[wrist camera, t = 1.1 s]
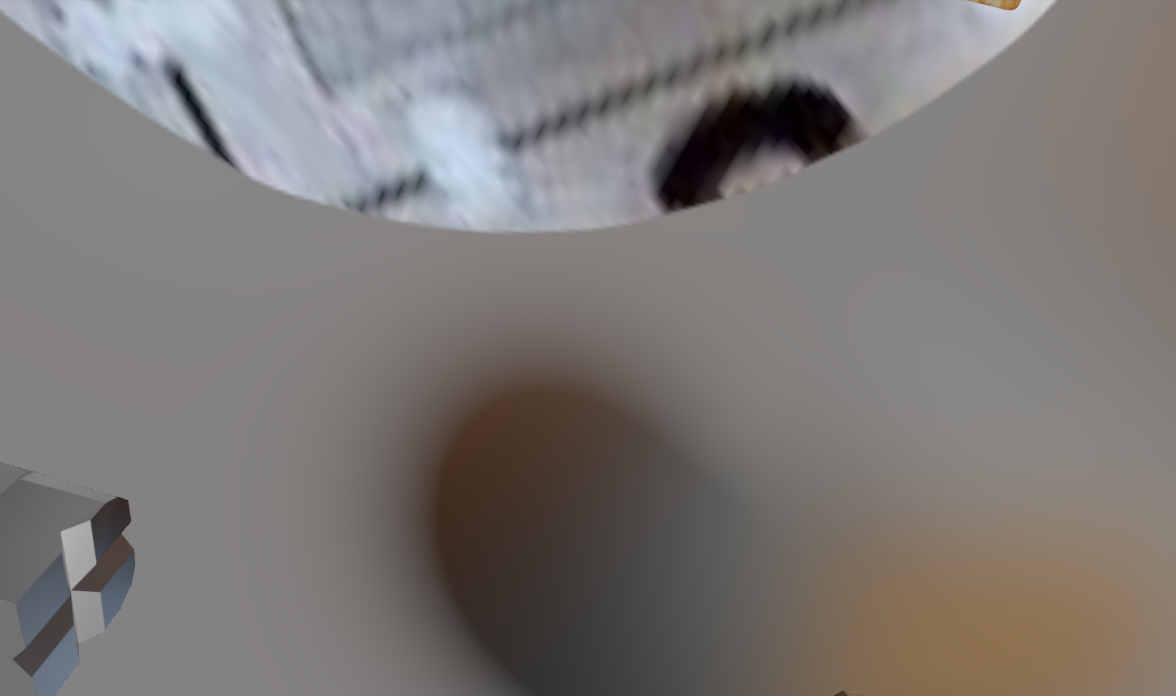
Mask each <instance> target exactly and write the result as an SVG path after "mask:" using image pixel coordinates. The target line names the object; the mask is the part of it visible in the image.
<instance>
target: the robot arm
mask: <svg viewBox="0 0 1176 696" xmlns="http://www.w3.org/2000/svg"><path fill="white" fill-rule="evenodd" d="M130 523H131V515H130V509H129V502H128V500H126V499H124V498H121V497H118V496H115V495H112V494H108V493H105V492H102V491H98V490H95V489H92V488H88V487H85V486H81V485H78V484H75V483H71V482H68V481H64V480H61V479H58V478H55V477H51V476H48V475H45V474H41V473H38V472H34V471H30V470H27V469H23V468H20V467H16V466H12V465H9V464H5V463H1V462H0V696H55V695H56V694H57V692H58V691H59V690H60V689H61V687H62V686H63V685H64V683H65V682H66V681H67V680H68V678H69V677H70V675H71V674H72V673H73V672H74V670H75V669H76V668H77V666H78V665H79V643H80V642H82V641H84V640H86V639H88V638H90V637H92V636H94V635H97V634H99V633H101V632H103V631H105V630H106V628H107V627H108V625H109V624H110V623H111V621H112V620H113V619H114V617H115V616H116V615H117V613H118V612H119V610H120V609H121V607H122V604H123V602H124V600H125V598H126V596H127V594H128V591H129V589H130V587H131V585H132V581H133V575H134V570H135V552H134V548H133V547H132V546H131V545H130V544H129V543H128V541H127V540H126V539H125V537H124V536H123V535H122V532H123V531H124V530H125V529H126V527H127V526H128V525H129V524H130ZM835 696H866V695H862V694H858V693H854V692H850V691H846V690H842V691H840V692H839V693H837V694H835Z"/></svg>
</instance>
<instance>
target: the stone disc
mask: <svg viewBox="0 0 1176 696" xmlns="http://www.w3.org/2000/svg"><path fill="white" fill-rule="evenodd" d="M969 1H973V2H976V3H980V4H984V5H989V6H993V7H997V8H1001V9H1005V10H1014V9H1016V8H1017V7H1018V5H1019V4H1020V2H1021V0H969Z"/></svg>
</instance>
